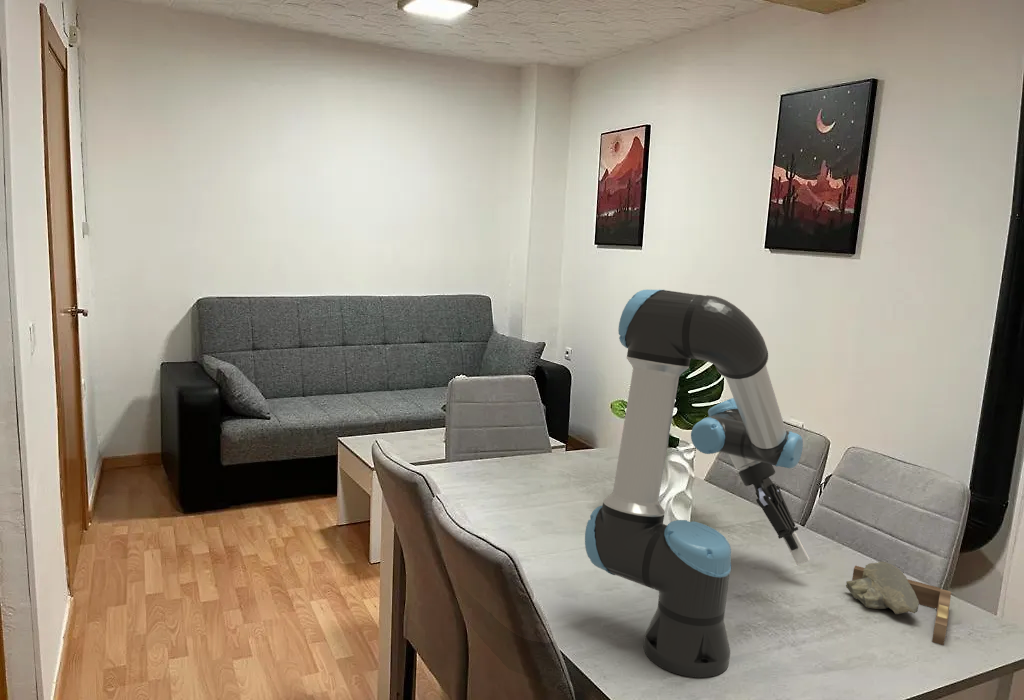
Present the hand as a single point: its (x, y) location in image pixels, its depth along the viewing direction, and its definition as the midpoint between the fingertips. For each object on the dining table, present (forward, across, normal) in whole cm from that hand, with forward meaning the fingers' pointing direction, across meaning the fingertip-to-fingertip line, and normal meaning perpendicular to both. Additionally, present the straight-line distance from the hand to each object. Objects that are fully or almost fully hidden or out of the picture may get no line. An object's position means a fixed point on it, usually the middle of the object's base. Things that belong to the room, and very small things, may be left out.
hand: (803, 562), depth 170 cm
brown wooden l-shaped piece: (+15, 0, -12) cm, 20 cm away
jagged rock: (+14, 0, -10) cm, 17 cm away
